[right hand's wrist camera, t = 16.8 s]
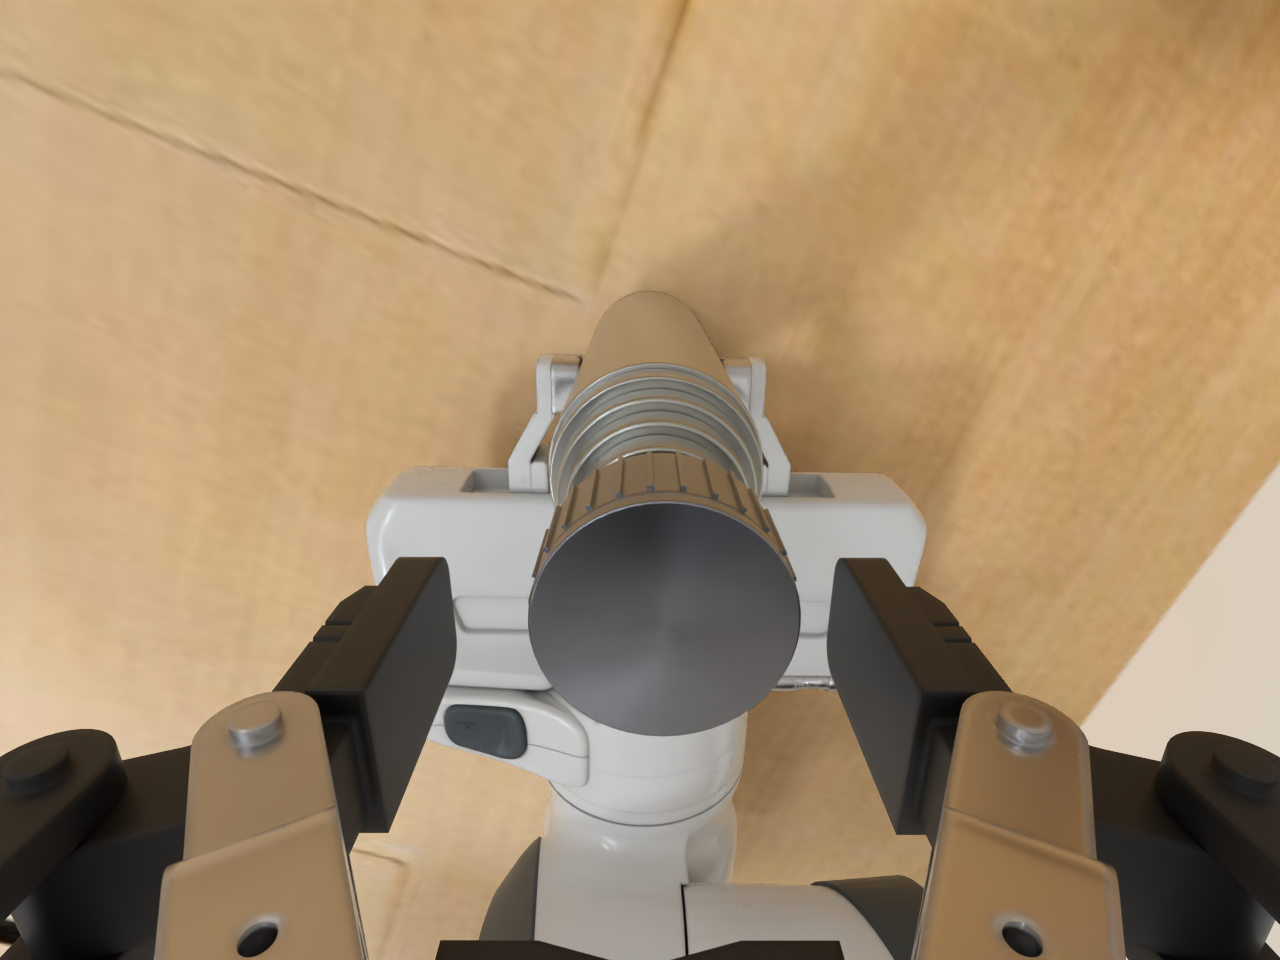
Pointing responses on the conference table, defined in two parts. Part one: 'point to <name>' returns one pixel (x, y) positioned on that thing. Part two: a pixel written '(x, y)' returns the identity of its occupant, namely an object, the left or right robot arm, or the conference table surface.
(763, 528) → the cap
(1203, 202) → the conference table surface
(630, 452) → the bottle
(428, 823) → the conference table surface
